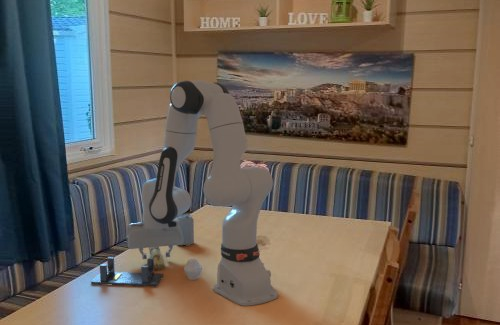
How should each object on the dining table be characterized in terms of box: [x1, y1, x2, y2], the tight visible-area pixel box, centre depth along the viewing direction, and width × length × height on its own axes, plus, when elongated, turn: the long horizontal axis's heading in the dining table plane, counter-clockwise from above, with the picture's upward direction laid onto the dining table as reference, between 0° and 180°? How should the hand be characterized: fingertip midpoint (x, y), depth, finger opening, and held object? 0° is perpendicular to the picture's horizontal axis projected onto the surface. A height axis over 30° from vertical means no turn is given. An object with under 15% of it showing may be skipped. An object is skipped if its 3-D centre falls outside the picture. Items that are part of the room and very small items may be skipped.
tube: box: [148, 247, 165, 271], centre depth 185 cm, size 18×4×4 cm, turn 15°
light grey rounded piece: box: [183, 258, 203, 281], centre depth 170 cm, size 6×6×7 cm
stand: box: [90, 256, 164, 288], centre depth 168 cm, size 22×9×6 cm, turn 85°
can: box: [177, 213, 195, 246], centre depth 205 cm, size 8×8×12 cm
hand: (156, 257), depth 185 cm, fingers open, 7 cm apart
